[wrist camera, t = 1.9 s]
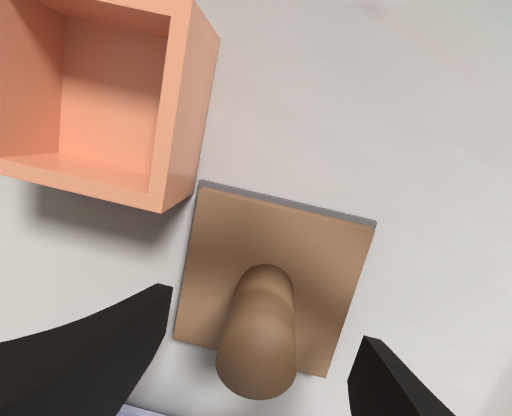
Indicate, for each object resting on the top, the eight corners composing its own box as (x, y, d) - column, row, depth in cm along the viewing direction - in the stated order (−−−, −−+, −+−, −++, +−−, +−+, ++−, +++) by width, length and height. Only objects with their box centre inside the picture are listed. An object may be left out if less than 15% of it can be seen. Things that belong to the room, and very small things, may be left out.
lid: (323, 366, 16) (343, 489, 11) (178, 329, 17) (122, 429, 11) (370, 226, 14) (424, 285, 9) (203, 186, 15) (151, 219, 9)
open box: (193, 193, 15) (161, 213, 11) (58, 160, 15) (-20, 170, 11) (220, 38, 13) (192, -2, 9) (66, 4, 14) (-22, -47, 10)
